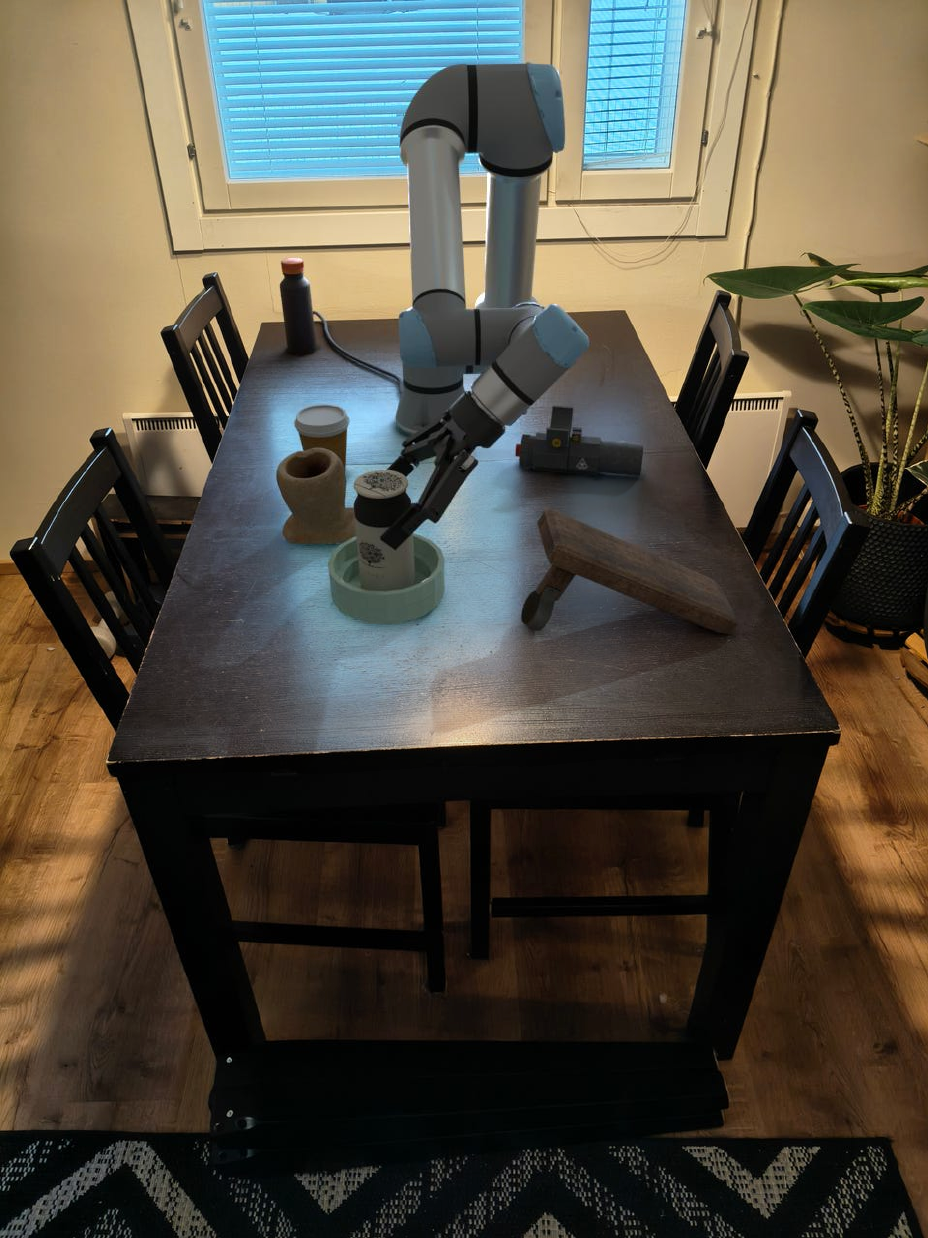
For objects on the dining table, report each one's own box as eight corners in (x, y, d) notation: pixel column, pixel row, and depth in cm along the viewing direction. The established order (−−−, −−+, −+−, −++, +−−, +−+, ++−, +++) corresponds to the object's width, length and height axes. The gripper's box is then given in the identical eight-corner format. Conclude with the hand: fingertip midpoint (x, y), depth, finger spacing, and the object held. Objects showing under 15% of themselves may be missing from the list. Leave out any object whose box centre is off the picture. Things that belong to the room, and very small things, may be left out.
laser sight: (638, 488, 160) (645, 436, 154) (512, 478, 164) (513, 426, 158) (640, 462, 168) (647, 412, 162) (519, 453, 171) (521, 403, 165)
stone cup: (276, 557, 144) (263, 472, 135) (290, 517, 153) (278, 436, 144) (372, 558, 143) (365, 473, 134) (380, 518, 153) (374, 436, 144)
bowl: (314, 583, 138) (310, 550, 134) (411, 552, 145) (409, 519, 141) (361, 642, 127) (358, 607, 123) (465, 605, 133) (464, 571, 130)
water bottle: (314, 354, 211) (305, 265, 199) (285, 354, 211) (273, 265, 199) (318, 343, 216) (309, 256, 204) (290, 343, 216) (279, 256, 204)
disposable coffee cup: (364, 470, 166) (359, 408, 159) (336, 494, 159) (330, 430, 152) (319, 460, 170) (312, 399, 162) (290, 483, 163) (282, 420, 155)
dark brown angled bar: (659, 654, 142) (490, 588, 131) (720, 579, 134) (545, 503, 124) (677, 699, 133) (498, 632, 123) (742, 622, 126) (558, 544, 115)
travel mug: (391, 568, 140) (384, 462, 129) (426, 589, 135) (422, 482, 124) (350, 589, 135) (339, 482, 124) (385, 612, 131) (377, 503, 120)
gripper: (529, 469, 113) (413, 581, 120) (489, 387, 132) (391, 488, 139) (487, 433, 109) (370, 552, 116) (452, 355, 128) (354, 460, 135)
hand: (381, 517), depth 128 cm, fingers open, 13 cm apart
